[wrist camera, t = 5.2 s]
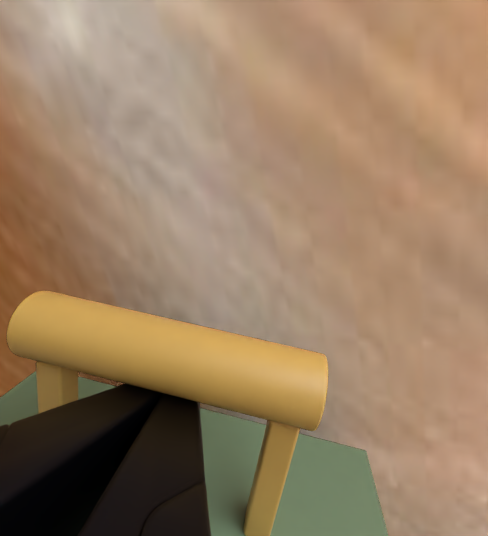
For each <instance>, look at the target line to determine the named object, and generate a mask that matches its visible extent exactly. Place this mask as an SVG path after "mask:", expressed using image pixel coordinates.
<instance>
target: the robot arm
mask: <svg viewBox="0 0 488 536" xmlns="http://www.w3.org/2000/svg"><path fill="white" fill-rule="evenodd" d="M0 536H211V529H210V520H209V511H208V503H207V489H206V483H205V469H204V455H203V442H202V429H201V415H200V402H196V401H192V400H188V399H184V398H180V397H176V396H172V395H169V394H165V393H161V392H157V391H153V390H149V389H145V388H141V387H137V386H133V385H129V384H123V385H120V386H117V387H114V388H111V389H108V390H105V391H103V392H100V393H97V394H94V395H91V396H88V397H85V398H82V399H79V400H76V401H73V402H71V403H68V404H65V405H62V406H59V407H56V408H53V409H50V410H47V411H44V412H42V413H39V414H36V415H33V416H30V417H27V418H24V419H21V420H18V421H15V422H13V423H11V424H10V426H9V425H8V424H5V425H2V426H0Z"/></svg>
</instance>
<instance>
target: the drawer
mask: <svg viewBox="0 0 488 536" xmlns="http://www.w3.org/2000/svg"><path fill="white" fill-rule="evenodd" d="M7 344H8V347H9V349H10V350H11V351H12V352H13V353H14V354H15V355H17V356H20V357H24V358H28V359H32V360H36V361H37V362H36V371H35V372H34V373H32V374H31V375H30V376H28V377H27V378H26V379H24V380H23V381H22V382H20V383H19V384H18V385H16V386H15V387H14V388H12V389H11V390H10V391H8V392H7V393H6V394H4V395H3V396H2V397H1V398H0V426H2V425H5V424H8V425H9V426H10V424H11V423H13V422H15V421H18V420H21V419H24V418H27V417H30V416H33V415H36V414H39V413H42V412H44V411H47V410H50V409H53V408H56V407H59V406H62V405H65V404H68V403H71V402H73V401H76V400H79V399H82V398H85V397H88V396H91V395H94V394H97V393H100V392H103V391H105V390H108V389H111V388H114V387H117V386H113V385H109V384H105V383H101V382H98V381H94V380H90V379H86V378H82V377H78V371H79V372H82V373H86V374H90V375H94V376H98V377H102V378H106V379H110V380H114V381H118V382H122V383H126V384H129V385H133V386H137V387H141V388H145V389H149V390H153V391H157V392H161V393H165V394H169V395H172V396H176V397H180V398H184V399H188V400H192V401H196V402H200V403H204V404H208V405H212V406H216V407H219V408H223V409H227V410H231V411H235V412H239V413H243V414H247V415H251V416H255V417H259V418H262V419H266V420H267V424H266V425H265V424H261V423H257V422H253V421H249V420H245V419H241V418H237V417H233V416H230V415H226V414H222V413H218V412H214V411H210V410H206V409H202V408H200V415H201V429H202V442H203V455H204V469H205V483H206V489H207V503H208V511H209V520H210V529H211V536H388V533H387V529H386V525H385V521H384V517H383V514H382V510H381V506H380V502H379V498H378V495H377V491H376V487H375V483H374V479H373V475H372V472H371V468H370V464H369V460H368V456H367V453H366V451H365V450H362V449H358V448H354V447H350V446H346V445H342V444H338V443H334V442H331V441H327V440H323V439H319V438H315V437H311V436H307V435H303V434H299V431H300V428H302V429H305V430H309V431H315V430H316V429H317V427H318V426H319V423H320V421H321V418H322V415H323V411H324V407H325V402H326V395H327V387H328V363H327V358H326V356H325V355H324V354H321V353H317V352H313V351H308V350H304V349H300V348H295V347H291V346H287V345H282V344H278V343H273V342H269V341H265V340H260V339H256V338H252V337H247V336H243V335H239V334H234V333H230V332H226V331H221V330H217V329H212V328H208V327H204V326H199V325H195V324H191V323H186V322H182V321H178V320H173V319H169V318H164V317H160V316H156V315H151V314H147V313H143V312H138V311H134V310H130V309H125V308H121V307H116V306H112V305H108V304H103V303H99V302H95V301H90V300H86V299H82V298H77V297H73V296H69V295H64V294H60V293H55V292H51V291H39V292H36V293H33V294H31V295H30V296H28V297H27V298H26V299H24V300H23V301H22V302H21V303H20V304H19V306H18V307H17V308H16V310H15V311H14V313H13V315H12V316H11V319H10V321H9V324H8V328H7Z"/></svg>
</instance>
